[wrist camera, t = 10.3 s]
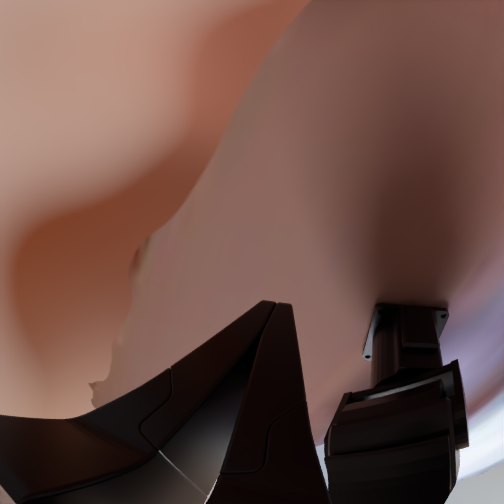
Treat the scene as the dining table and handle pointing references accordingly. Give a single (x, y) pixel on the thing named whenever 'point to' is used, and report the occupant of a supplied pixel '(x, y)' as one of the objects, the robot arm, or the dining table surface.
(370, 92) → the dining table surface
